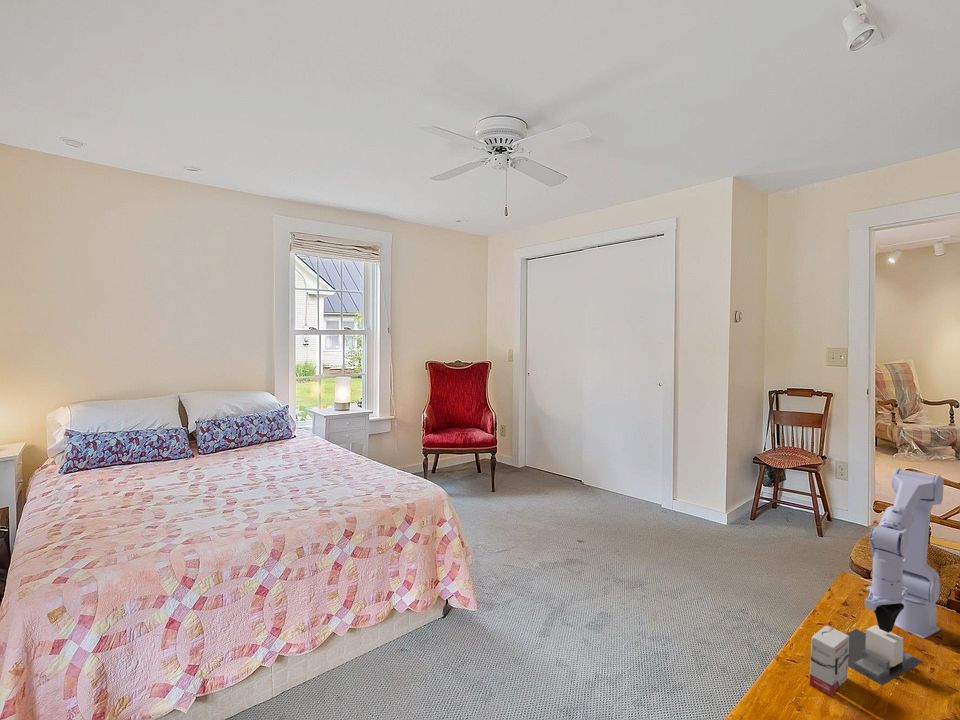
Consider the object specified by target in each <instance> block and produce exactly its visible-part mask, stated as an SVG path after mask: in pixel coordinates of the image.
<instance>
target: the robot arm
mask: <svg viewBox="0 0 960 720" xmlns="http://www.w3.org/2000/svg"><path fill="white" fill-rule="evenodd" d="M944 483H945V482H944V478H943V477H942V476H941V475H939V474H937V475H936V474H931V473H923V472H918V471H912V470H906V469H902V468H898V467H897V468H896V469H894V470H893V472H892V475H891V487H892V489H893V491H894V492H895V493H896V495H895V499H894V503H893V505H891V506H888V507H886V509H885V510H884V512H883V514H882V516H881V519H880V521H879V523H878V525H876V526H875V525H874V526H872V528H871V529H870V533H869V547H870V555H871V557H872V576H871V577H872V578H871V580H872V581H871V585H869V586H866V590H867V591H868V592H869V594H868V597H867V598H864V608H865V609H866V608H867V609H869V610H871V611H873V613H874V616H875V618H876V621H877V626H879V629H881V630H883V631H885V632H888V633H889V632H892V631H893V629H894V626H895V627H897V628H900V629H902V630H904V631H907V632H909V633H910V634H914V635H915V636H918V637H920V638H922V639H926V638H928V637H930V636H932V635H933V634H936V633H937V632H939V631H941V628H940V627H938V626H937V604H936V603H937V602H938V600H939V597H940V593H941V592H940V591H941V585H940V576H939V573H938V572H937V571H936V570H935V569H934V568H933V567H931V566H930V565H929V564H928V563H927V561H928V549H929V537H930V536H929V535H930V525H931V523H930V522H931V514H932V513H931V512H932V508H933V506H934V505H941V504H942V502H943V497H944V487H945V485H944Z"/></svg>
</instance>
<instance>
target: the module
mask: <svg viewBox="0 0 960 720" xmlns="http://www.w3.org/2000/svg"><path fill="white" fill-rule="evenodd" d="M865 633H866V647H865V649H868V650H870V651H872V652H874V653H876V654H878V655H879V656H881V657H883V658H885V659H887V660H889V661H890V665H891V666H893V667H894V666H896V665H897V664H899V663H901V662H903V651H904V637H902V636H900V635H897V634H896V633H894V632H892V631H891V632H889V633H888V632H885V631H883V630H881V629H879V626H878V624H874V625H872V626H870V627H868V628H866V629H865Z"/></svg>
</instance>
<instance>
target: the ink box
mask: <svg viewBox="0 0 960 720" xmlns="http://www.w3.org/2000/svg"><path fill="white" fill-rule="evenodd" d="M810 639H811V643H810V667H809V682H808V683H809V686H812V687H813V688H816V689H817V690H819V691H821V692H823V693H825V694H827V695H828V696H830V697H832V696H834V695H835V694H836V693H837V692H838V691H837V689H839V687H841V686H842V685H843V684H844V683H845V681H847V680H848V675H849V674H848V671H849V670H848V669H849V667H848V654H849V635H847V633H845V632H842V631H840V630H838V629H836V628H834V627H831V626H829V625H825V626H824V627H822V628H820V629H819V630H818V631H817V632H815V633H814V634H813V635H812V637H811V638H810Z"/></svg>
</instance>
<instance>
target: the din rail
mask: <svg viewBox="0 0 960 720" xmlns="http://www.w3.org/2000/svg"><path fill="white" fill-rule="evenodd" d="M846 634H847V635H849V654H848V668H850V669H852V670H854V671H856V673H859V674H861V675H863V676H864V677H866V678H868V679H870V680H871V681H873V682H875V683H877V684H879V685H880V686H884V685H885V684H887V683H889V682H890V681H892V680H894V679H896V678H898V677H899V676H901V675H902V674H904V673H906V672H908V671H910V670H912V669H913V668H915V667H917V666H918V665H920V664H922V663H924V661H923V660H921V659H919V658H917V657H915V656H913V655H912V654H911V653H908V652H907V651H904V650H903V662H901V663H899V664H897V665H896V666H894V667H891V668H890V661H889V660H887V659H885V658H883V657H881V656H879V655H878V654H876V653H874V652H872V651H870V650H868V649H865V647H866V632H864V631H862V630H860V629H858V628H855V629H853V630H851V631H849V632H847V633H846Z"/></svg>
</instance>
